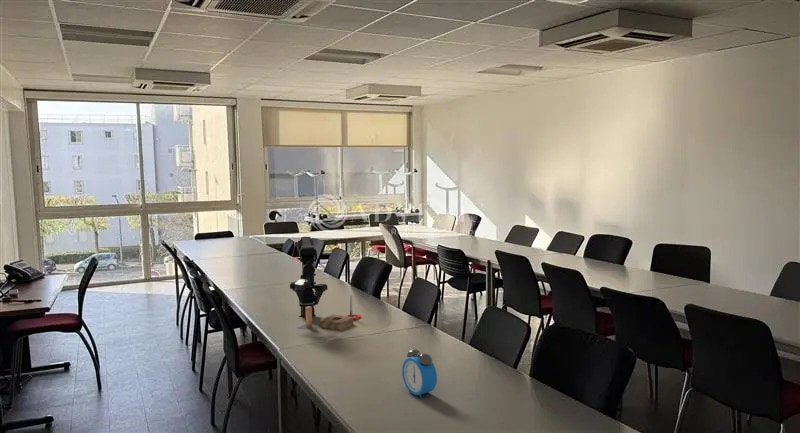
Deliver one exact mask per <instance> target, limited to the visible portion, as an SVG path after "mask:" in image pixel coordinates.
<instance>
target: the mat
mask: <svg viewBox="0 0 800 433" xmlns="http://www.w3.org/2000/svg"><path fill="white" fill-rule="evenodd" d="M296 329H299V330H305V331H306V330H307V331H311V332H314V331H315V330H318V329H320V325H314V324H312V328H306V323H305V324H303V325H300V326H298V327H296Z"/></svg>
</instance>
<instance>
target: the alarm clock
mask: <svg viewBox="0 0 800 433" xmlns="http://www.w3.org/2000/svg"><path fill="white" fill-rule="evenodd" d="M406 357H407V358H406V359H404V361H403V363H402V369H401V373H402V374H401V375H402V380H403V382H404V385H405V387H406V389H407V390H408V392H409V393H411V394H412V395H414V396H419V398H422V395H424V394H427V393H430V392H432V391H434V390H435V388H436V386H437V384H438V375H437V371H436V367H435V365H434V362H433V357H432V356H431V355H430V354H428V353H423V352H422V353H421V352H420V350H419V349H416V348H414V349H413V348H411V350H409V351H407V354H406Z"/></svg>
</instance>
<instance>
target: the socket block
mask: <svg viewBox="0 0 800 433" xmlns="http://www.w3.org/2000/svg"><path fill="white" fill-rule="evenodd" d="M353 317H354V316H353ZM353 317H350V316H346V315H343V314H342V315H340V314H334V313H333V314H331V315H329V316H326V317H324V318H321V319H319V326H320V328H321V329H327V330H328V329H329V330H335V331H336V330H337V331H342V330H345V329H347V328H348V327H351V326H352V325H354V320H353ZM320 328H319V329H320Z"/></svg>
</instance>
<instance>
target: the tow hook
mask: <svg viewBox="0 0 800 433" xmlns="http://www.w3.org/2000/svg"><path fill="white" fill-rule="evenodd" d="M349 297H350V298H349V310H348V311H349V314H346V315H345V316H350V317H353V321H358V319H361V318H362V315H360V314H356V313H353V295H352V294H350V296H349Z"/></svg>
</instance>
